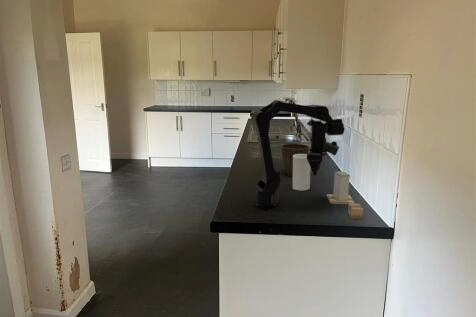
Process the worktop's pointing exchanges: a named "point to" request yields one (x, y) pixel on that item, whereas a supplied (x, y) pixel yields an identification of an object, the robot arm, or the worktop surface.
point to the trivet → (336, 201)
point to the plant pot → (288, 153)
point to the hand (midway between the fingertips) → (316, 172)
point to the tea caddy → (341, 185)
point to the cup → (301, 172)
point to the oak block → (355, 211)
